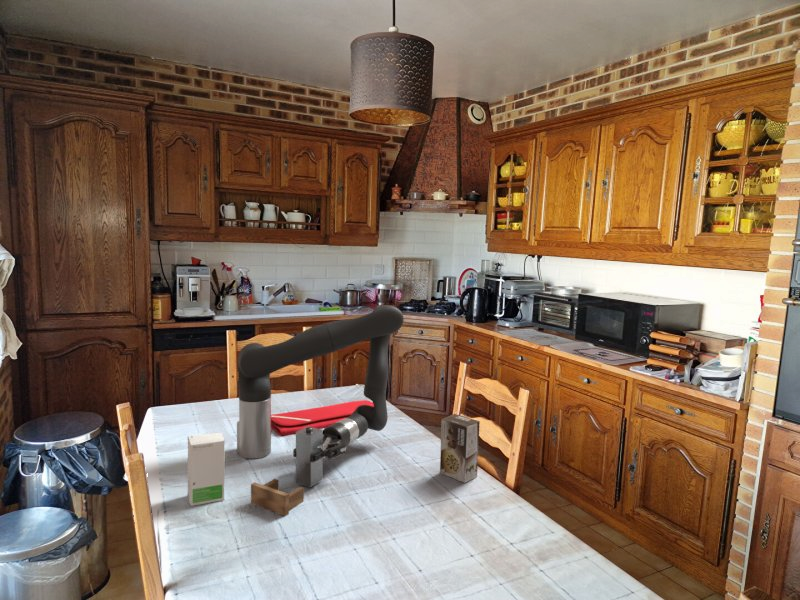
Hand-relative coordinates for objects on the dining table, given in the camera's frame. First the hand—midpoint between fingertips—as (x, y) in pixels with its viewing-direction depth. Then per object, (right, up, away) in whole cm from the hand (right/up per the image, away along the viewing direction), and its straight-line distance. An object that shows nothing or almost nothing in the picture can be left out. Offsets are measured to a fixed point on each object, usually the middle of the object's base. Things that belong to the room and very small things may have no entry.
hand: (303, 456), depth 135 cm
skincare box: (-23, -9, -5) cm, 25 cm away
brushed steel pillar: (+1, -8, +3) cm, 9 cm away
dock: (-5, -9, -7) cm, 13 cm away
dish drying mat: (-1, -3, +52) cm, 52 cm away
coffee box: (+42, -9, +11) cm, 44 cm away
